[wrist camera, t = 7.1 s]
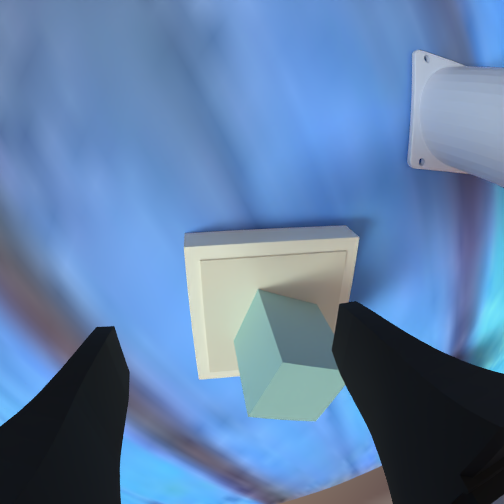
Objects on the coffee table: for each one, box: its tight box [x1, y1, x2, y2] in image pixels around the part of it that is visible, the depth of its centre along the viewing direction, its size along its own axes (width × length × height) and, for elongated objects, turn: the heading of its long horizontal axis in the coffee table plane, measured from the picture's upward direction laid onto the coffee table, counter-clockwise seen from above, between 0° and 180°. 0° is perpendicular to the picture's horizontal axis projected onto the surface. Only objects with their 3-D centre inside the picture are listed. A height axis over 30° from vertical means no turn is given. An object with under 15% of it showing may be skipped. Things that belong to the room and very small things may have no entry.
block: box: [234, 289, 345, 421], centre depth 17 cm, size 4×4×6 cm
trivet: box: [184, 225, 359, 379], centre depth 21 cm, size 10×10×3 cm
